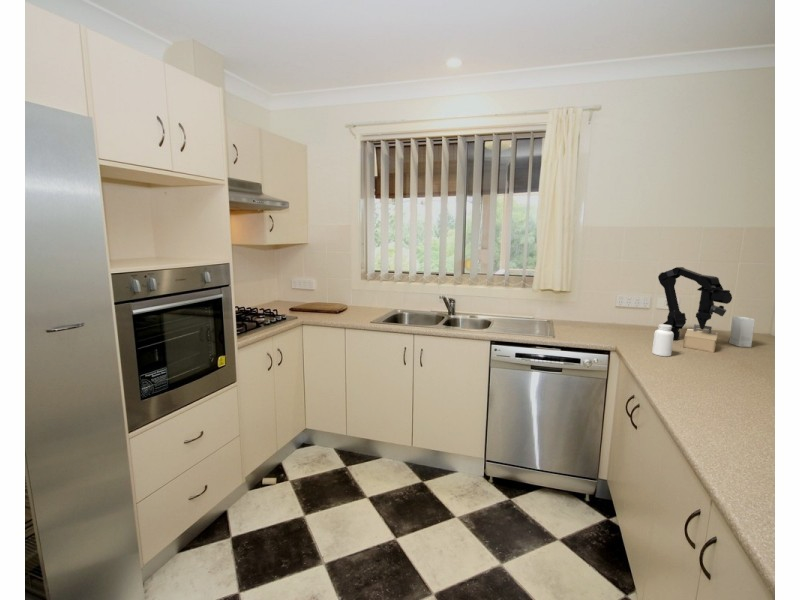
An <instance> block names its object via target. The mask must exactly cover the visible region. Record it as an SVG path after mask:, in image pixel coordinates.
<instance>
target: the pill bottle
mask: <svg viewBox="0 0 800 600" xmlns="http://www.w3.org/2000/svg"><path fill="white" fill-rule="evenodd" d="M657 328H658V329H656V330H655V331H654V335H653V343H652V349H651V352H652V354H653V355H654V356H660V357H671V356H672V350H673V343H674V340H673V337H674V333H673V332H672V331H670V330H671V329H672V326H671V325H666V324H663V323H659V324H658V327H657Z"/></svg>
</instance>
